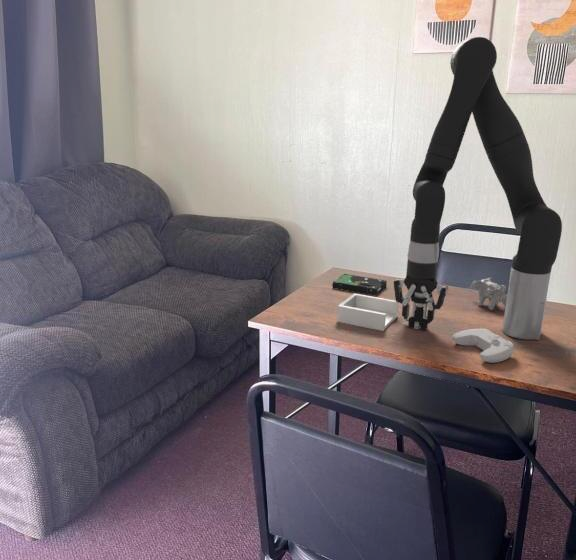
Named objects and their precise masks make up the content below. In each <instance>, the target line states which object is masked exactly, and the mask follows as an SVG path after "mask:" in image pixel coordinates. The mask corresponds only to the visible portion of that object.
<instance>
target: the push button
mask: <svg viewBox="0 0 576 560" xmlns="http://www.w3.org/2000/svg"><path fill="white" fill-rule="evenodd" d="M429 297H430V298H431V297H432V296H431V295H429ZM426 300H427V298H424V295H423V293H418V292H415V295H414V296H413V295H411V299H410V301H411V302H413V303H412V312H411V314H410V316H409V317H408V319H404V318H403V322H402V324H404V325H408V327H409V328H412V329H415V330H421V331H424V332H425V331H426V330H427V329H428V328H429V323H427V312H428V305H427V302H426ZM405 321H406V322H405Z"/></svg>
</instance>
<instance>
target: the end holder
mask: <svg viewBox="0 0 576 560" xmlns="http://www.w3.org/2000/svg"><path fill="white" fill-rule="evenodd" d="M398 312H399V302H396V300H393V299H388V298H383V297H377V296H373V295H367V294H362V293H356V292H353V294H352V295H350V296H349V297H348V298H346V299H345V300H344V301H342V302H341V303H340V304H338V305H337V316H336V317H337V318H336V321H337V323H342V324H347V325H352V326H357V327H361V328H367V329H372V330H377V331H382V332H384V331H385V330H386V329H387V328H388V327H389V326H390V325H391V324H392V323H393V322H394V321H395V320H396V318H398V314H399V313H398Z"/></svg>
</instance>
